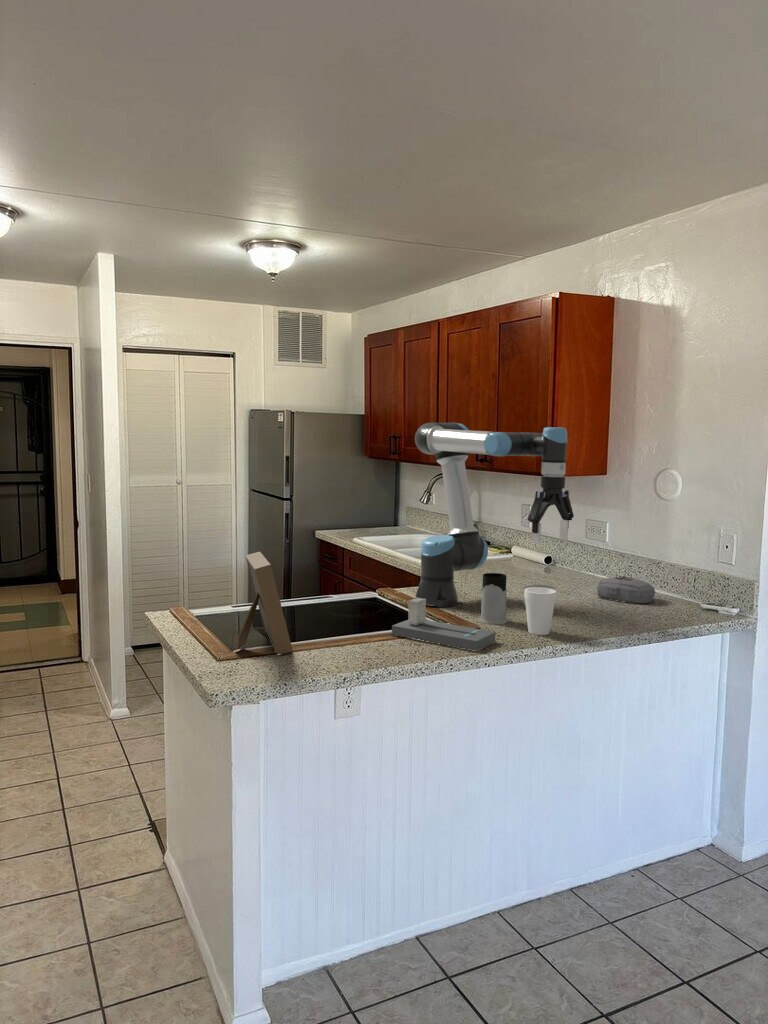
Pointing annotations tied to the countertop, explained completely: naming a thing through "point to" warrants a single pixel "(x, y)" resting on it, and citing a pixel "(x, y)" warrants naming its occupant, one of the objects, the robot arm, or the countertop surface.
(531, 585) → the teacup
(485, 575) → the glass holder
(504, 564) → the countertop surface
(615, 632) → the countertop surface
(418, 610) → the fader knob
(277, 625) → the photo frame
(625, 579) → the soft grey pack
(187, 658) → the countertop surface
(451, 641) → the fader console
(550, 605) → the foam cup
